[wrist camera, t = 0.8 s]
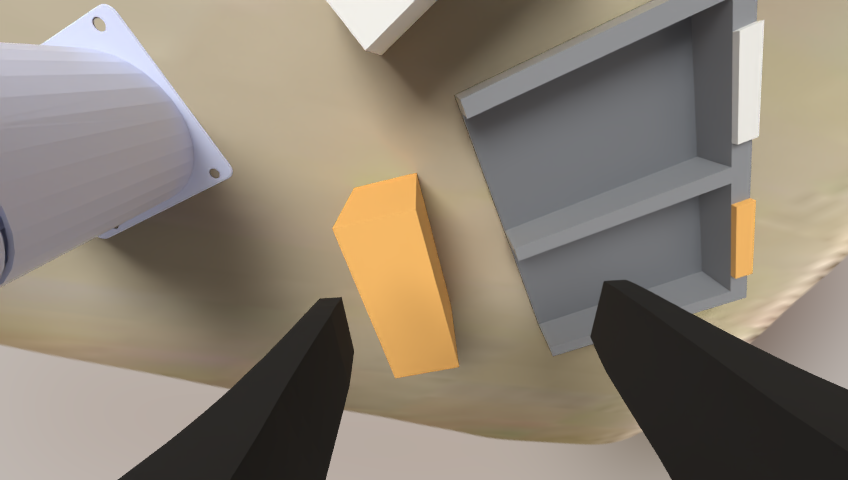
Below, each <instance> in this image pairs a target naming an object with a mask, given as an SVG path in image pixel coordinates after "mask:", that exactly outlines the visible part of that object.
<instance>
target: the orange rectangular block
mask: <svg viewBox="0 0 848 480" xmlns="http://www.w3.org/2000/svg"><path fill="white" fill-rule="evenodd" d="M332 229H333V231H334V234H335V236H336V239H337V241H338V243H339V246H340V248H341V250H342V253H343V255H344V258H345V260H346V262H347V265H348V267H349V269H350V272H351V274H352V277H353V279H354V281H355V284H356V286H357V288H358V291H359V293H360V296H361V298H362V300H363V303H364V305H365V307H366V310H367V312H368V315H369V317H370V319H371V322H372V324H373V326H374V329H375V331H376V334H377V336H378V338H379V341H380V343H381V345H382V348H383V350H384V353H385V355H386V357H387V360H388V362H389V364H390V367H391V369H392V372H393V374H394V376H395V378H400V377H406V376H411V375H417V374H423V373H428V372H434V371H439V370H445V369H451V368H456V367H459V362H458V355H457V347H456V340H455V332H454V325H453V317H452V310H451V304H450V300H449V296H448V292H447V288H446V284H445V281H444V277H443V273H442V269H441V265H440V261H439V257H438V254H437V250H436V246H435V242H434V238H433V234H432V230H431V227H430V223H429V219H428V215H427V211H426V207H425V203H424V200H423V196H422V192H421V188H420V184H419V180H418V176H417V173H414V174H409V175H405V176H401V177H397V178H393V179H389V180H385V181H381V182H376V183H372V184H368V185H364V186H360V187H356V188H354V189H353V191H352V193H351V195H350V197H349V198H348V200H347V202H346V204H345V206H344V208H343V210H342V211H341V213H340V215H339V217H338V219H337V221H336V223H335V224H334V226H333V228H332Z"/></svg>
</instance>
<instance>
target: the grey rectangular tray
mask: <svg viewBox="0 0 848 480" xmlns="http://www.w3.org/2000/svg"><path fill="white" fill-rule="evenodd" d="M763 36H764V20H761V21H757V0H652V1H650V2H648V3H645V4H643V5H641V6H639V7H637V8H635V9H633V10H631V11H629V12H627V13H625V14H623V15H620V16H618V17H616V18H614V19H612V20H610V21H608V22H606V23H604V24H602V25H600V26H598V27H595V28H593V29H591V30H589V31H587V32H585V33H583V34H581V35H579V36H577V37H575V38H573V39H570V40H568V41H566V42H564V43H562V44H560V45H558V46H556V47H554V48H552V49H550V50H547V51H545V52H543V53H541V54H539V55H537V56H535V57H533V58H531V59H529V60H527V61H525V62H522V63H520V64H518V65H516V66H514V67H512V68H510V69H508V70H506V71H504V72H502V73H500V74H497V75H495V76H493V77H491V78H489V79H487V80H485V81H483V82H481V83H479V84H477V85H475V86H472V87H470V88H468V89H466V90H464V91H462V92H460V93H458V94H456V95H455V98H456V101H457V103H458V106H459V109H460V111H461V114H462V117H463V120H464V122H465V125H466V128H467V131H468V133H469V136H470V139H471V141H472V144H473V147H474V150H475V152H476V155H477V158H478V161H479V163H480V166H481V169H482V171H483V174H484V177H485V180H486V182H487V185H488V188H489V191H490V193H491V196H492V199H493V201H494V204H495V207H496V210H497V212H498V215H499V218H500V221H501V223H502V226H503V229H504V232H505V234H506V237H507V240H508V242H509V245H510V248H511V251H512V253H513V256H514V259H515V262H516V264H517V267H518V270H519V272H520V275H521V278H522V281H523V283H524V286H525V289H526V292H527V294H528V297H529V300H530V302H531V305H532V308H533V311H534V313H535V316H536V319H537V322H538V324H539V327H540V329H541V332H542V334H543V336H544V338H545V340H546V342H547V344H548V347H549V349H550V351H551V353H552V355H553V356H555V355H559V354H562V353H565V352H568V351H572V350H575V349H578V348H582V347H585V346H588V345H591V344H593V342H592V340H591V337H590V336H591V331H592V327H593V323H594V319H595V315H596V311H597V307H598V303H599V298H600V294H601V290H602V286H603V282H604V281H611V280H628V281H631V282H633V283H635V284H637V285H639V286H641V287H643V288H645V289H647V290H649V291H651V292H653V293H654V294H656V295H658V296H660V297H662V298H664V299H666V300H668V301H669V302H671V303H673V304H675V305H677V306H679V307H680V308H682V309H684V310H686V311H688V312H690V313H691V314H693V313H696V312H700V311H703V310H706V309H710V308H713V307H716V306H719V305H723V304H726V303H729V302H733V301H736V300H739V299H742V298H746V290H747V275H749V274H752V272H753V251H754V229H755V208H756V200H753V199H751V198H750V182H751V155H752V139H754V138H756V137H759V122H760V101H761V79H762V58H763Z"/></svg>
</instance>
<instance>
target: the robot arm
mask: <svg viewBox="0 0 848 480" xmlns="http://www.w3.org/2000/svg"><path fill="white" fill-rule="evenodd" d="M94 17H99V18H101V19H102V20H103V21H104V22H105V24H106V30H105V31H103V32H101V31H99V30H98V29H96V28H95V26H94V24H93V19H94ZM213 168H214V169H216V170H217V171H219V173H220V177H219V178H213V177H212V176H211V175H210V169H213ZM232 174H233V169H232V167H231V165H230V164H229V163H228V161H227V160H226V159H225V157H224V156H223V154H222V153H221V152H220V150H219V149H218V148H217V146H216V145H215V144H214V142H213V141H212V140H211V138H210V137H209V136H208V134H207V133H206V131H205V130H204V129H203V127H202V126H201V125H200V123H199V122H198V121H197V119H196V118H195V117H194V115H193V114H192V113H191V111H190V110H189V108H188V107H187V106H186V104H185V103H184V102H183V100H182V99H181V98H180V96H179V95H178V94H177V92H176V91H175V90H174V88H173V87H172V85H171V84H170V83H169V81H168V80H167V79H166V77H165V76H164V75H163V73H162V72H161V71H160V69H159V68H158V67H157V65H156V64H155V62H154V61H153V60H152V58H151V57H150V56H149V54H148V53H147V52H146V50H145V49H144V48H143V46H142V45H141V44H140V42H139V41H138V39H137V38H136V37H135V35H134V34H133V33H132V31H131V30H130V29H129V27H128V26H127V25H126V23H125V22H124V20H123V19H122V18H121V16H120V15H119V14H118V12H117V11H116V10H115V9H114V8H112V7H111V6H109V5H106V4H101V5H98V6H97V7H95V8H94V9H92V10H91V11H89V12H88V13H86V14H85V15H83V16H82V17H81V18H79V19H78V20H76V21H75V22H73V23H72V24H70V25H69V26H67V27H66V28H64V29H63V30H61V31H60V32H58V33H57V34H55V35H54V36H53V37H51V38H50V39H48V40H47V41H45V42H44V43H42V44H41V45H36V44H19V43H3V42H0V287H2V286H4V285H6V284H8V283H10V282H12V281H13V280H15V279H17V278H19V277H21V276H23V275H25V274H27V273H29V272H31V271H33V270H34V269H36V268H38V267H40V266H42V265H44V264H46V263H48V262H50V261H52V260H53V259H55V258H57V257H59V256H61V255H63V254H65V253H67V252H69V251H71V250H73V249H74V248H76V247H78V246H80V245H82V244H84V243H86V242H88V241H90V240H92V239H94V238H95V237H99V238H103V239H107V238H110V237H112V236H114V235H116V234H118V233H120V232H122V231H124V230H126V229H128V228H130V227H132V226H134V225H136V224H138V223H140V222H142V221H144V220H146V219H148V218H150V217H152V216H154V215H156V214H158V213H160V212H162V211H164V210H166V209H168V208H170V207H172V206H174V205H176V204H178V203H180V202H182V201H184V200H186V199H188V198H190V197H192V196H194V195H196V194H198V193H200V192H202V191H204V190H206V189H208V188H210V187H212V186H214V185H216V184H218V183H220V182H222V181H224V180H226V179H228V178H230V177H231V176H232ZM118 225H119V227H118V228H117V229H115V227H116V226H118ZM590 337H591V340H592V342H593V344H594V346H595V349H596V351H597V353H598V356H599V358H600V360H601V362H602V364H603V366H604V368H605V370H606V372H607V374H608V376H609V377H610V379H611V381H612V382H613V384H614V386H615V387H616V389H617V390H618V392H619V394H620V395H621V397H622V399H623V400H624V402H625V403H626V405H627V407H628V408H629V410H630V411H631V413H632V415H633V416H634V418H635V420H636V421H637V423H638V424H639V426H640V428H641V429H642V431H643V432H644V434H645V436H646V437H647V439H648V440H649V442H650V443H651V445H652V447H653V448H654V450H655V452H656V453H657V455H658V456H659V458H660V460H661V462H662V463H663V465H664V467H665V468H666V470H667V472H668V474H669V476H670V477H671V479H672V480H848V390H847V389H845V388H843V387H840V386H838V385H836V384H834V383H831V382H829V381H827V380H825V379H822V378H820V377H818V376H815V375H813V374H811V373H809V372H807V371H804V370H802V369H800V368H798V367H796V366H794V365H791V364H789V363H787V362H785V361H783V360H781V359H779V358H777V357H775V356H773V355H771V354H769V353H767V352H765V351H763V350H761V349H759V348H757V347H755V346H753V345H751V344H749V343H747V342H745V341H743V340H741V339H739V338H737V337H735V336H733V335H731V334H729V333H727V332H725V331H723V330H721V329H720V328H718V327H716V326H714V325H712V324H710V323H708V322H706V321H705V320H703V319H701V318H699V317H697V316H695V315H693V314H691V313H690V312H688V311H686V310H684V309H682V308H680V307H679V306H677V305H675V304H673V303H671V302H669V301H668V300H666V299H664V298H662V297H660V296H658V295H656V294H654V293H653V292H651V291H649V290H647V289H645V288H643V287H641V286H639V285H637V284H635V283H633V282H631V281H628V280H611V281H604V282H603V286H602V290H601V294H600V298H599V303H598V307H597V311H596V315H595V319H594V323H593V327H592V331H591V336H590ZM353 355H354V349H353V344H352V340H351V336H350V332H349V327H348V323H347V319H346V314H345V310H344V306H343V301H342V297H339V298H323V299H319V300H318V301H317V302H316V303H315V304H314V305H313V306H312V307H311V308H310V309H309V311H308V312H307V313H306V314H305V315H304V316H303V317H302V318H301V319H300V320H299V321H298V322H297V323H296V324H295V325H294V327H293V328H292V329H291V330H290V331H289V332H288V333H287V334H286V335H285V336H284V337H283V338H282V339H281V340H280V341H279V342H278V343H277V344H276V345H275V346H274V347H273V348H272V349H271V350H270V352H269V353H268V354H267V355H266V356H265V357H264V358H263V359H262V360H260V361H259V362H258V363H257V364H256V365H255V366H254V367H253V368H252V369H251V370H250V371H249V372H248V373H247V374H246V375H245V376H244V377H243V378H242V379H241V380H240V381H238V382H237V383H236V384H235V385H234V386H233V387H232V388H231V389H230V390H229V391H228V392H227V393H226V394H225V395H223V396H222V397H221V398H220V399H219V400H218V401H217V402H216V403H214V404H213V405H212V406H211V407H210V408H209V409H208V410H206V411H205V412H204V413H203V414H201V415H200V416H199V417H198V418H197V419H195V420H194V421H193V422H192V423H191V424H189V425H188V426H187V427H186V428H185V429H183V430H182V431H181V432H180V433H178V434H177V435H176V436H175V437H173V438H172V439H171V440H170V441H168V442H167V443H166V444H165V445H163V446H162V447H161V448H159V449H158V450H157V451H155V452H154V453H153V454H151V455H150V456H149V457H148V458H146V459H145V460H143V461H142V462H141V463H139V464H138V465H137V466H135V467H134V468H133V469H131V470H130V471H129V472H127V473H126V474H125V475H123V476H122V477H121V478H120V479H118V480H326V476H327V472H328V468H329V464H330V460H331V456H332V452H333V449H334V445H335V440H336V437H337V433H338V429H339V425H340V421H341V417H342V413H343V410H344V406H345V402H346V398H347V393H348V389H349V385H350V378H351V371H352V363H353Z"/></svg>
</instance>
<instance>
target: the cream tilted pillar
mask: <svg viewBox="0 0 848 480" xmlns="http://www.w3.org/2000/svg"><path fill="white" fill-rule="evenodd" d="M326 1H327V2H328V3H329V4H330V6H331V7H332V8H333V10H334V11H335V12H336V13H337V15H338V16H339V17H340V19H341V20H342V21H343V22H344V24H345V25H346V26H347V28H348V29H349V30H350V31H351V33H352V34H353V35H354V37H355V38H356V39H357V40H358V42H359V43H360V44H361V46H362V47H363V48H364V49H365V51H369V52H372V53H375V54H378V55H382V54H383V53H384V52H385V51H386V50H387V49H388V48H389V47H390V46H391V45H392V44H393V43H394V42H395V41H396V40H398V39H399V38H400V37H401V36H402V35H403V34H404V33H405V32H406V31H407V30H408V29H409V28H410V27H411V26H412V25H413V24H414V23H415V22H416V21H417V20H418V19H419V18H420V17H421V16H422V15H423V14H424V13H425V12H426V11H427V10H428V9H429V8H430V7H431V6H432V5H433V4H434V3H435V2H436V1H437V0H326Z"/></svg>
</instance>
